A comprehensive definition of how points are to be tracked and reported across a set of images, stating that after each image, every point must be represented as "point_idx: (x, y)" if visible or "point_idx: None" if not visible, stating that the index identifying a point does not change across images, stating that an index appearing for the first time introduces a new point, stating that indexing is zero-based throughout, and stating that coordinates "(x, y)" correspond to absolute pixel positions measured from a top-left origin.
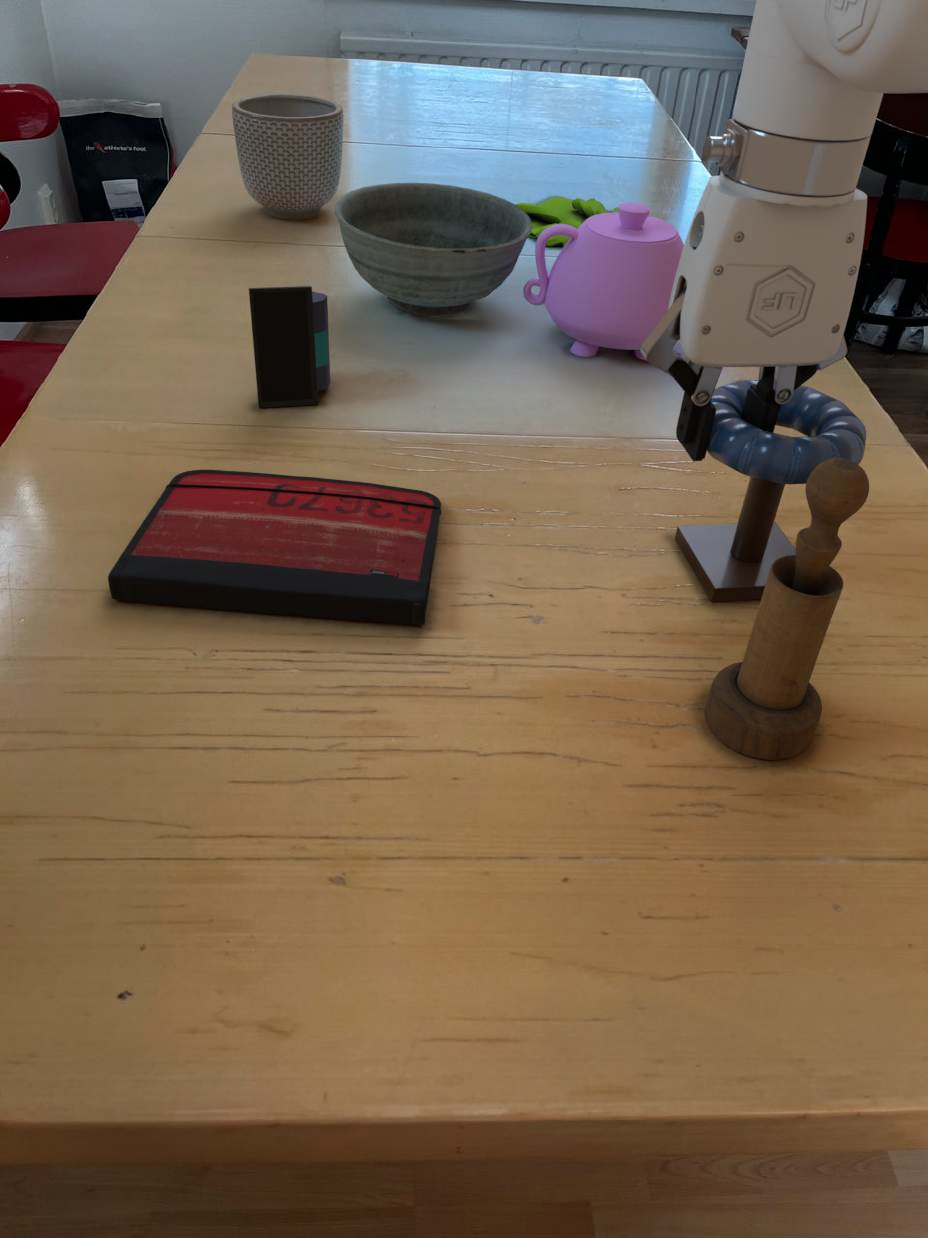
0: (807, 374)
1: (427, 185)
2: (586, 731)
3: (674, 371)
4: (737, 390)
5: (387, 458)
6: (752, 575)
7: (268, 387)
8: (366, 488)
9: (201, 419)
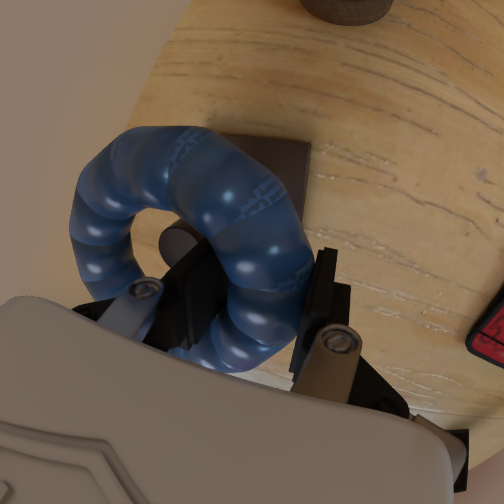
0: (87, 308)
1: None
2: (487, 36)
3: (405, 413)
4: (206, 355)
5: (448, 389)
6: (257, 157)
7: (463, 440)
8: (499, 358)
9: (496, 421)
